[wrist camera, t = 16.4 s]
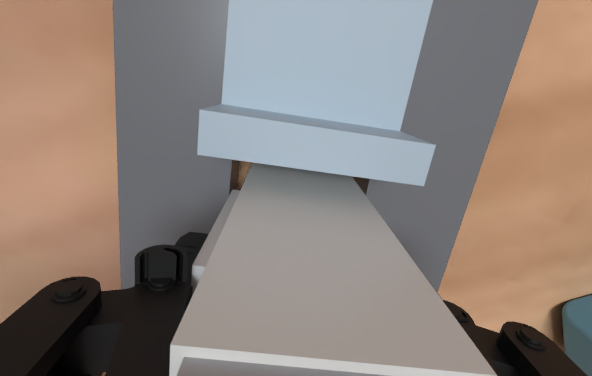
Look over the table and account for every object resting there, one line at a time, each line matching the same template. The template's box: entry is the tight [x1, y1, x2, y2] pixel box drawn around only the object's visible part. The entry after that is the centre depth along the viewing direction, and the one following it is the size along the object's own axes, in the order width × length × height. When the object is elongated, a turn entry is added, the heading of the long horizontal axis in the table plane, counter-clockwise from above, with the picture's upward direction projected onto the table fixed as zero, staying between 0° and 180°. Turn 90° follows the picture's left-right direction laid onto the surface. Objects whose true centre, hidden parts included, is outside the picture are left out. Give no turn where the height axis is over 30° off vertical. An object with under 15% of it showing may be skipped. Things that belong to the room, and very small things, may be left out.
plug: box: [169, 163, 497, 376], centre depth 11 cm, size 5×5×13 cm
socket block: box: [113, 0, 538, 292], centre depth 18 cm, size 18×26×3 cm
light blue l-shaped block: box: [197, 0, 436, 186], centre depth 11 cm, size 8×8×4 cm
